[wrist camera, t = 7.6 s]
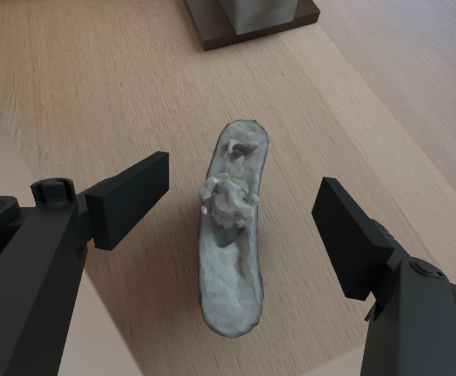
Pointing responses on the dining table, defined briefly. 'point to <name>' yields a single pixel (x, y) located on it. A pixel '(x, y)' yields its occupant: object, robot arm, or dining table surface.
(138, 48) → the dining table surface
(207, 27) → the brown board with holder
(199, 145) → the dining table surface
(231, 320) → the flask
